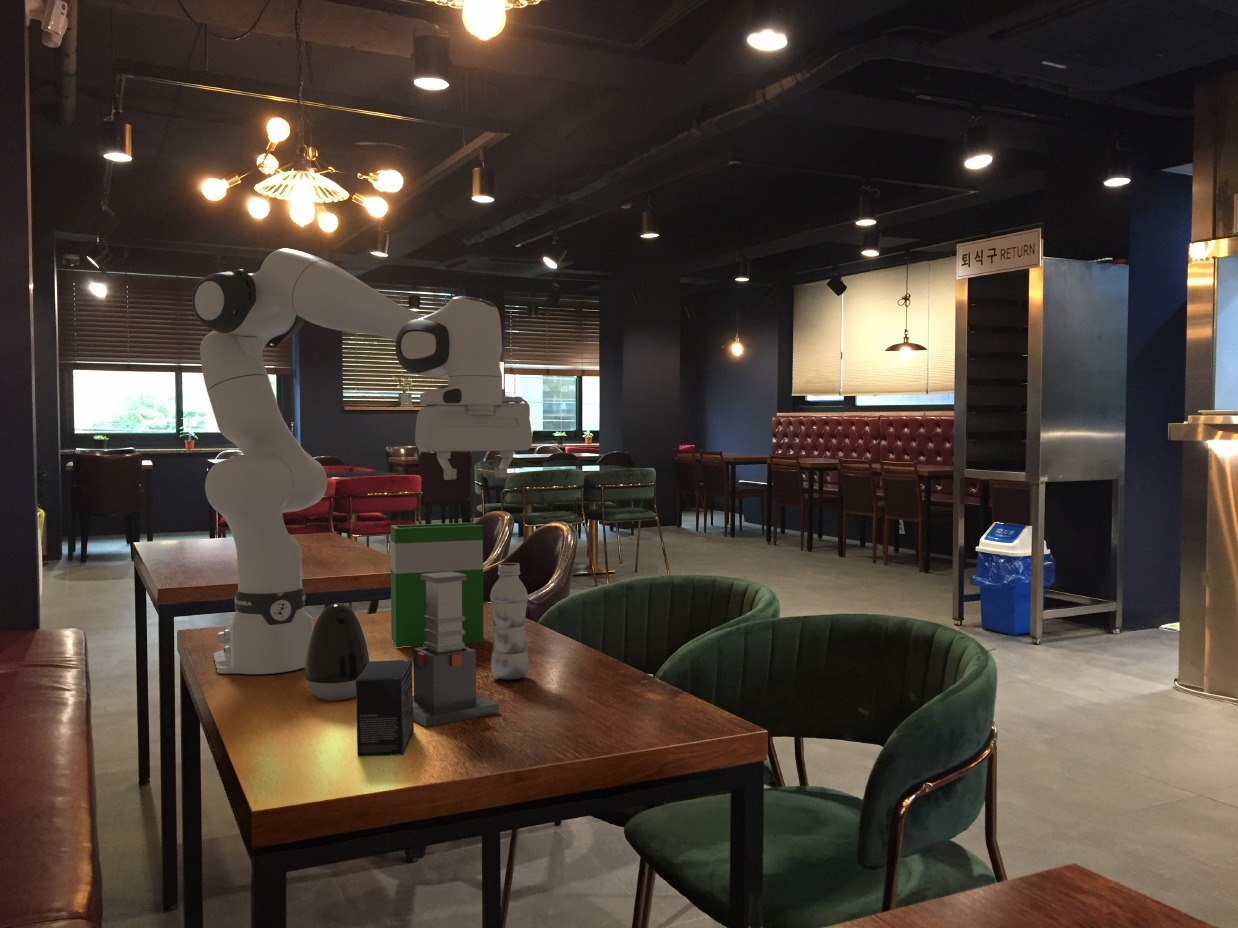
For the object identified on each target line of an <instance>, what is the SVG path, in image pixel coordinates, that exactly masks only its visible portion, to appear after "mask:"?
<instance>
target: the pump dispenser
mask: <svg viewBox="0 0 1238 928" xmlns="http://www.w3.org/2000/svg"><path fill="white" fill-rule="evenodd" d="M370 661H371V660H370V656H369V650H368V645H367V643H366V639H365V634H364V632H363V629H362V626H361V623H360V620H359V619H358V617H357V615H356V614H355V612H354V611H353V610H352V608H351V607H350V606H349V605H346V604H344V603H332V604H330V605H328V606H326V607H325V608H323V610H322V611H321V612H320V614H319V616H318V617H317V619H316V621H315V624H314V625H313V632H312V635H311V639H310V643H309V647H308V651H307V657H306V664H305V667H304V678H305V679H304V680H306V682H307V685H308V689H310V692H311V693H312V694H313V695H314V696H315V697H317V698H318V699H321V700H323V701H329V702H339V701H340V702H341V701H346V700H349V699H353V698H354V697H356V679H357V678H358V677H359V675H360V674H361V673H362V671H363V670H364V669H365V667H366V666H367V664H368V663H369V662H370Z"/></svg>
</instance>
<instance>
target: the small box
mask: <svg viewBox="0 0 1238 928" xmlns="http://www.w3.org/2000/svg"><path fill="white" fill-rule="evenodd" d="M369 661H370V662H369V663H368V664H367V666H366V667H365V669H364V670H363V671H362V673H361V674H360V675H359V677H358V678H357V679H356V696H355V699H356V700H355V703H356V704H355V706H356V708H355V709H356V749H357V750H356V751H357V752H356V753H357V757H379V756H382V757H384V756H386V757H387V756H403V755H405V752H406V750H407V748H408V745H409V743H410V741H411V738H412V736H413V734H414V731H415V724H414V722H415V721H414V720H413V697H412V696H413V695H414V685H413V660H412V659H396V660H393V659H392V660H375V661H373V660H372V661H371V660H369Z"/></svg>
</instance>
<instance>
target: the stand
mask: <svg viewBox="0 0 1238 928" xmlns="http://www.w3.org/2000/svg"><path fill="white" fill-rule="evenodd" d="M476 651H477V650H475V649H472V648H470V647H468V646H465V647H464V648H462V651H460V652H454V653H447V654H440V655H435V654H432V653H430V652H427V647H425V646H424V647H413V652H412V653H413V654H412V655H413V660H412V662H413V695H412V697H413V720H414V722H415V723H418V724H419V725H421V726H423V727H425V728H431V727H436V726H441V725H446V724H447V725H448V724H451V723H457V722H461V721H466V720H470V719H471V720H472V719H476V718H481V717H482V718H483V717H486V716H491V715H496V714H499V713H500V711H499V707H500V706H499V705H500V704H499V702H497V701H495V700H492V699H489V698H488V697H486V696H483V695H480V694H478V693H477V658H476V657H477V655H476V654H477V653H476Z"/></svg>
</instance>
